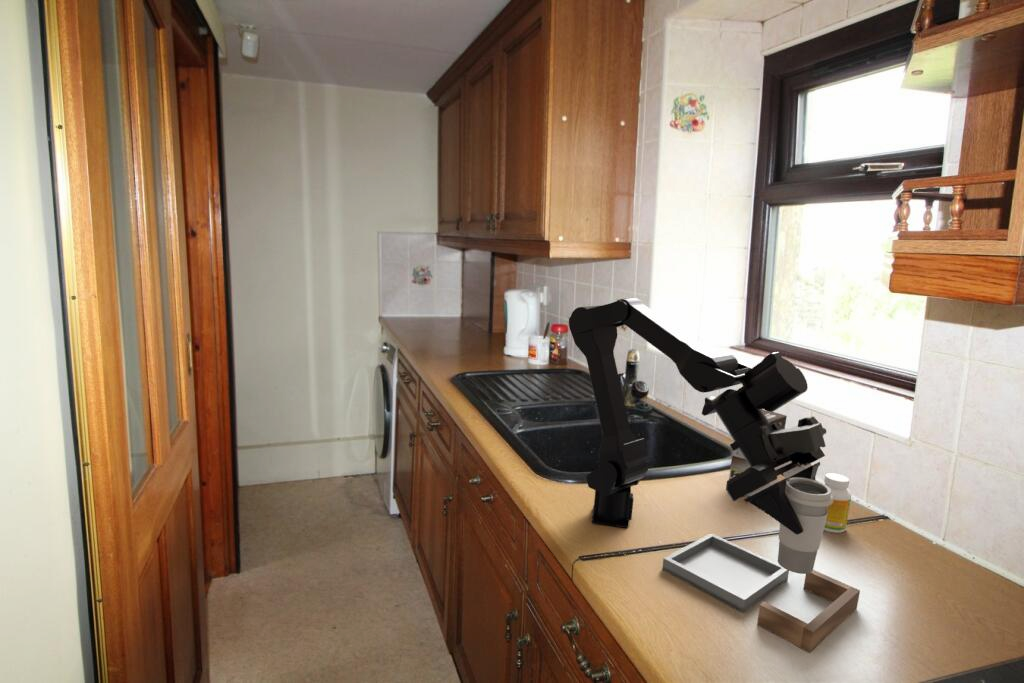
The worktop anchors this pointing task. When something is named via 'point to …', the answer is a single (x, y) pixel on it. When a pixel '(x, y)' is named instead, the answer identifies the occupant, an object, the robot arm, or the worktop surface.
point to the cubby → (822, 624)
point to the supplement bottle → (837, 503)
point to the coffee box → (738, 459)
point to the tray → (726, 571)
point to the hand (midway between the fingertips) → (811, 525)
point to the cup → (804, 524)
